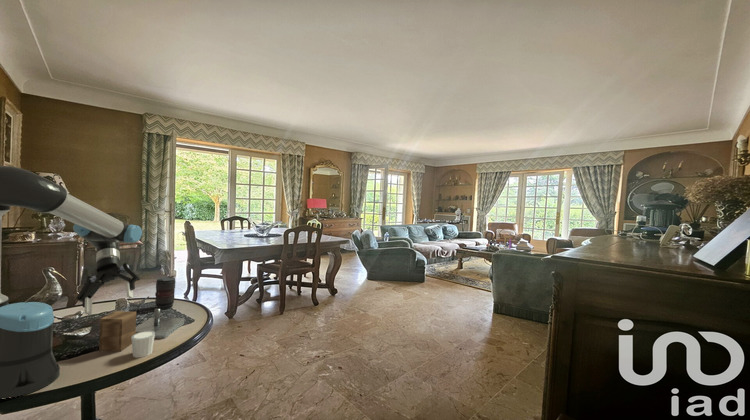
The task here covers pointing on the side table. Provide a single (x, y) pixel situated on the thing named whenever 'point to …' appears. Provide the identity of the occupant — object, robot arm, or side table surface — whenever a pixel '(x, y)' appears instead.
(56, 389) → the side table surface
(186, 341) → the side table surface
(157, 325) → the joystick
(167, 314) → the side table surface
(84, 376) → the side table surface
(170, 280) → the camera lens
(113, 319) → the wooden brick
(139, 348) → the pale grey tapered cylinder
